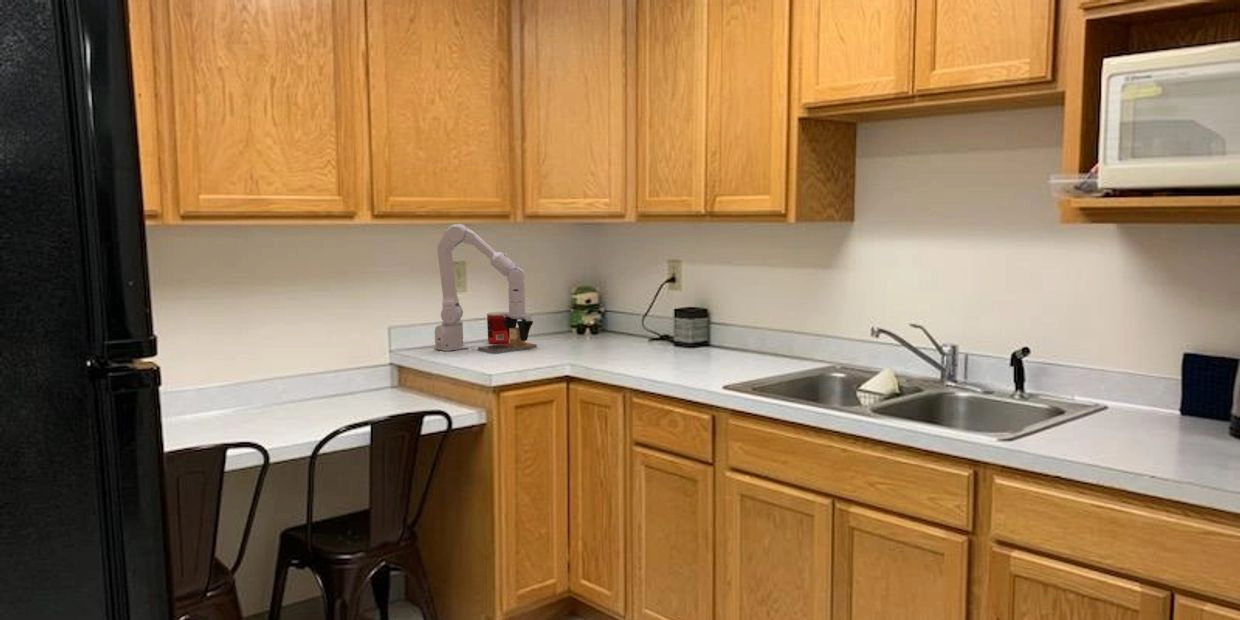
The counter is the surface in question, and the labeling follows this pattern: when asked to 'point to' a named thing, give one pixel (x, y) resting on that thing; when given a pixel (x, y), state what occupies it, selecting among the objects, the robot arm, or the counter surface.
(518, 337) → the birch peg
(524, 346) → the rail plate
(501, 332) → the canned food
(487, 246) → the robot arm
